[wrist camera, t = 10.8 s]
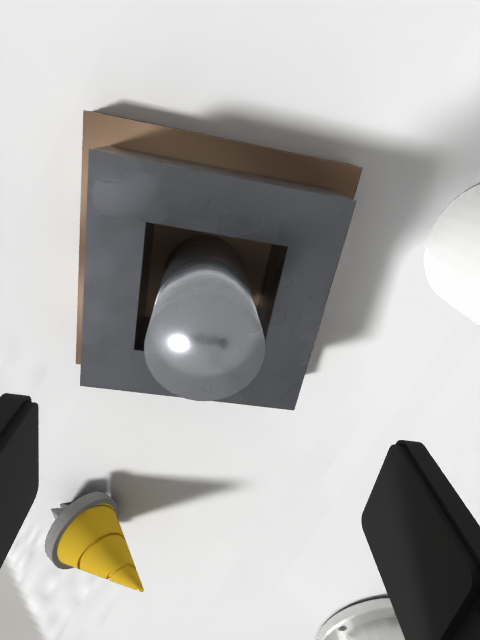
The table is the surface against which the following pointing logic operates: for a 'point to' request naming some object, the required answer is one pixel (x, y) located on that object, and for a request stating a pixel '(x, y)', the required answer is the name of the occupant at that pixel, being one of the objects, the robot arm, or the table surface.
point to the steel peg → (204, 323)
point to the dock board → (211, 152)
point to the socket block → (211, 217)
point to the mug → (457, 254)
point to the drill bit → (92, 540)
